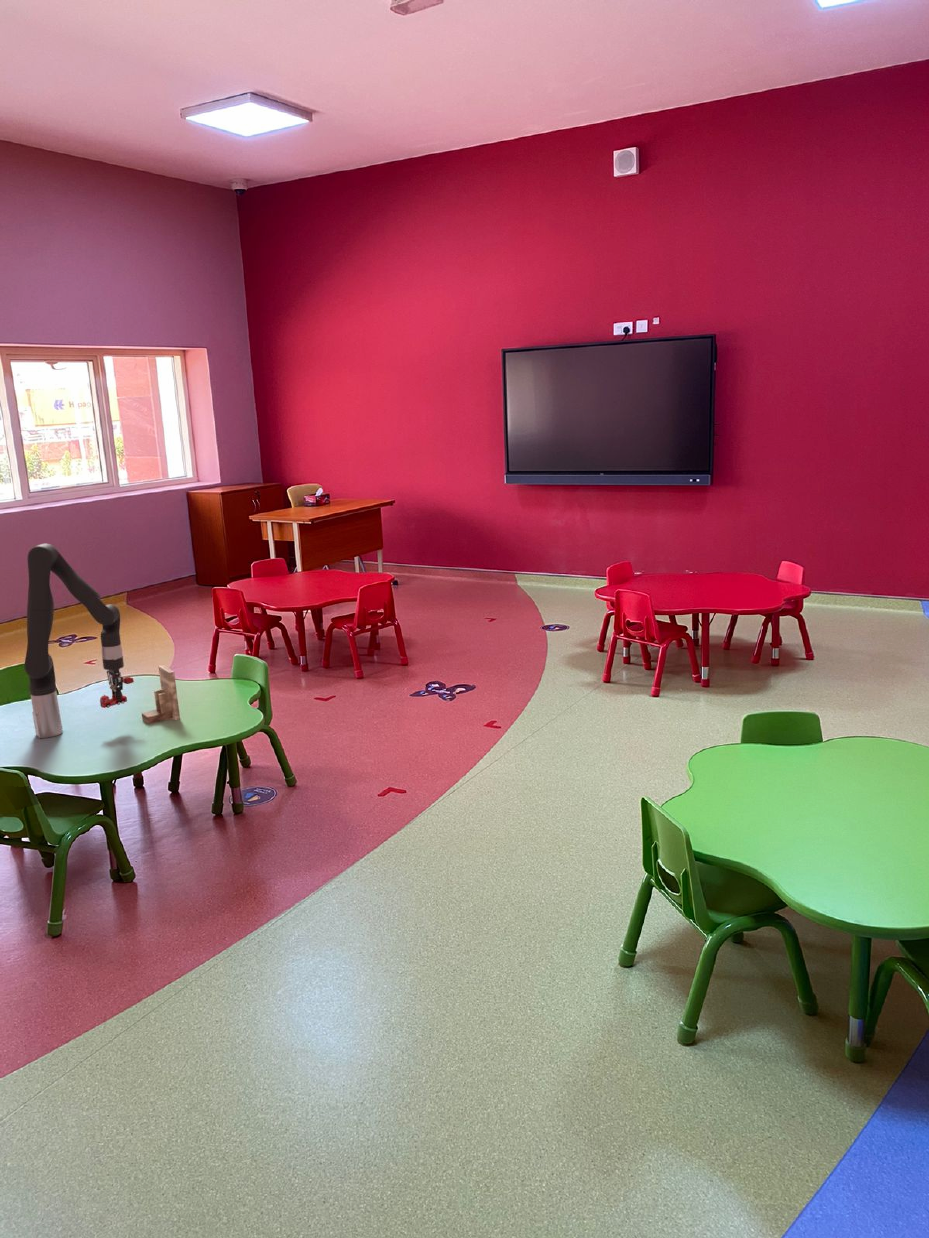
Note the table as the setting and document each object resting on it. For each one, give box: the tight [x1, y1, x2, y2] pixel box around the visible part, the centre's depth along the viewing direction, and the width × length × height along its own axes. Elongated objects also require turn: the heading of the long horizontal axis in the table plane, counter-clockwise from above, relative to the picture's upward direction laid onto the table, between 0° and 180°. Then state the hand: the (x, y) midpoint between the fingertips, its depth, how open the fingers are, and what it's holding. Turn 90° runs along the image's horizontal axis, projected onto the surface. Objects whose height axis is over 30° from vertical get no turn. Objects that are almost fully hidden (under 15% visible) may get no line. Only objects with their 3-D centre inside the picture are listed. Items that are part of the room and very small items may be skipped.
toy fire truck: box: [99, 676, 135, 709], centre depth 360 cm, size 3×14×10 cm, turn 139°
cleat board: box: [141, 664, 181, 725], centre depth 370 cm, size 12×13×20 cm
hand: (117, 697), depth 360 cm, fingers closed on toy fire truck, 3 cm apart
